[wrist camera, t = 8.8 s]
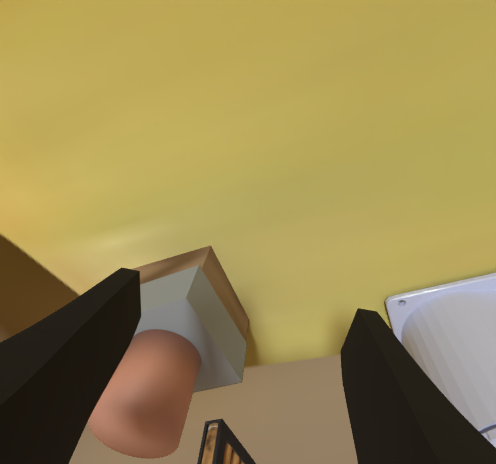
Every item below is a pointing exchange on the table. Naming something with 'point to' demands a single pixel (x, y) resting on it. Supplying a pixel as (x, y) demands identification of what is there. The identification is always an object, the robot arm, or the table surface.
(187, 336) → the tower top
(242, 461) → the ammunition clip
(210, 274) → the tower base
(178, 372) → the pink cylinder
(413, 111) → the table surface
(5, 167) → the table surface
